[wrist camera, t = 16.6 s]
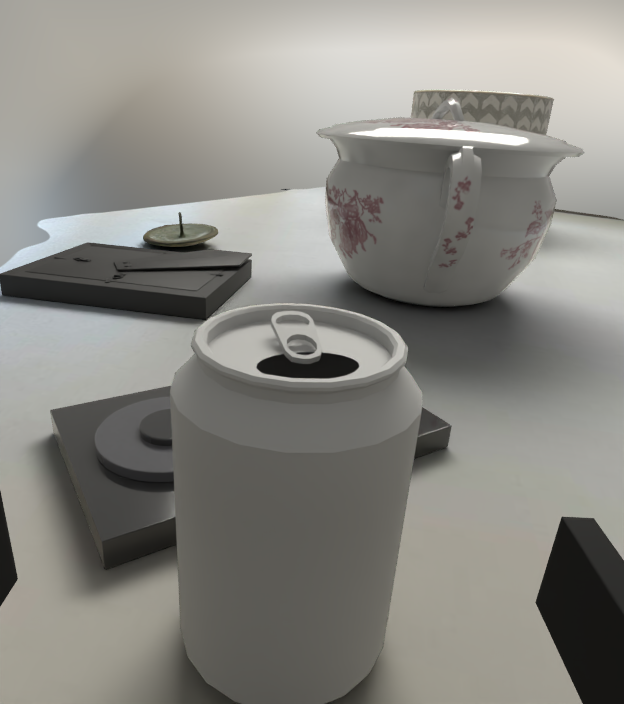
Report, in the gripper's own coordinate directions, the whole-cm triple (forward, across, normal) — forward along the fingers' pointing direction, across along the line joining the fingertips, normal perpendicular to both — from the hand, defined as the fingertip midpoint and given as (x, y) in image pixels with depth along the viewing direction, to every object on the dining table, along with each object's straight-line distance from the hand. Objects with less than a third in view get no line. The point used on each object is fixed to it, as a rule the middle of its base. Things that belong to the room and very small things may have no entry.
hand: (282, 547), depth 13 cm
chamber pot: (+52, +14, -8) cm, 54 cm away
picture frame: (+47, -17, -8) cm, 51 cm away
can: (+5, 0, -8) cm, 10 cm away
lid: (+68, -17, -8) cm, 70 cm away
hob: (+17, -2, -8) cm, 19 cm away
